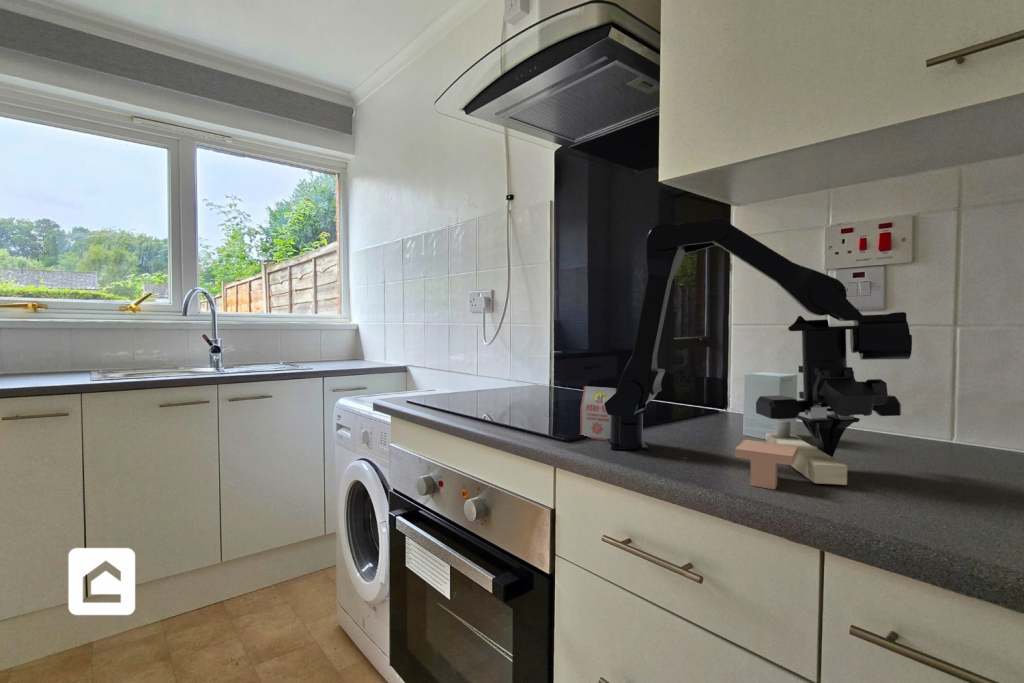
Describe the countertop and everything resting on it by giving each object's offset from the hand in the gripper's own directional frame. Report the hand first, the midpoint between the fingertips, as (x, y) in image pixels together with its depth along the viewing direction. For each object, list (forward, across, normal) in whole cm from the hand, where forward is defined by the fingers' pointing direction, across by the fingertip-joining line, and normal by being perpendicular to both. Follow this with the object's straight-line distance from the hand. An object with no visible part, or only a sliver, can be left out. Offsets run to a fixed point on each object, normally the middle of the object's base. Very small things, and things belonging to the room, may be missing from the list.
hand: (827, 461), depth 76 cm
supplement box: (+1, +2, +23) cm, 23 cm away
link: (+1, -3, +2) cm, 3 cm away
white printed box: (0, -32, +20) cm, 38 cm away
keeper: (+1, -12, -6) cm, 14 cm away
